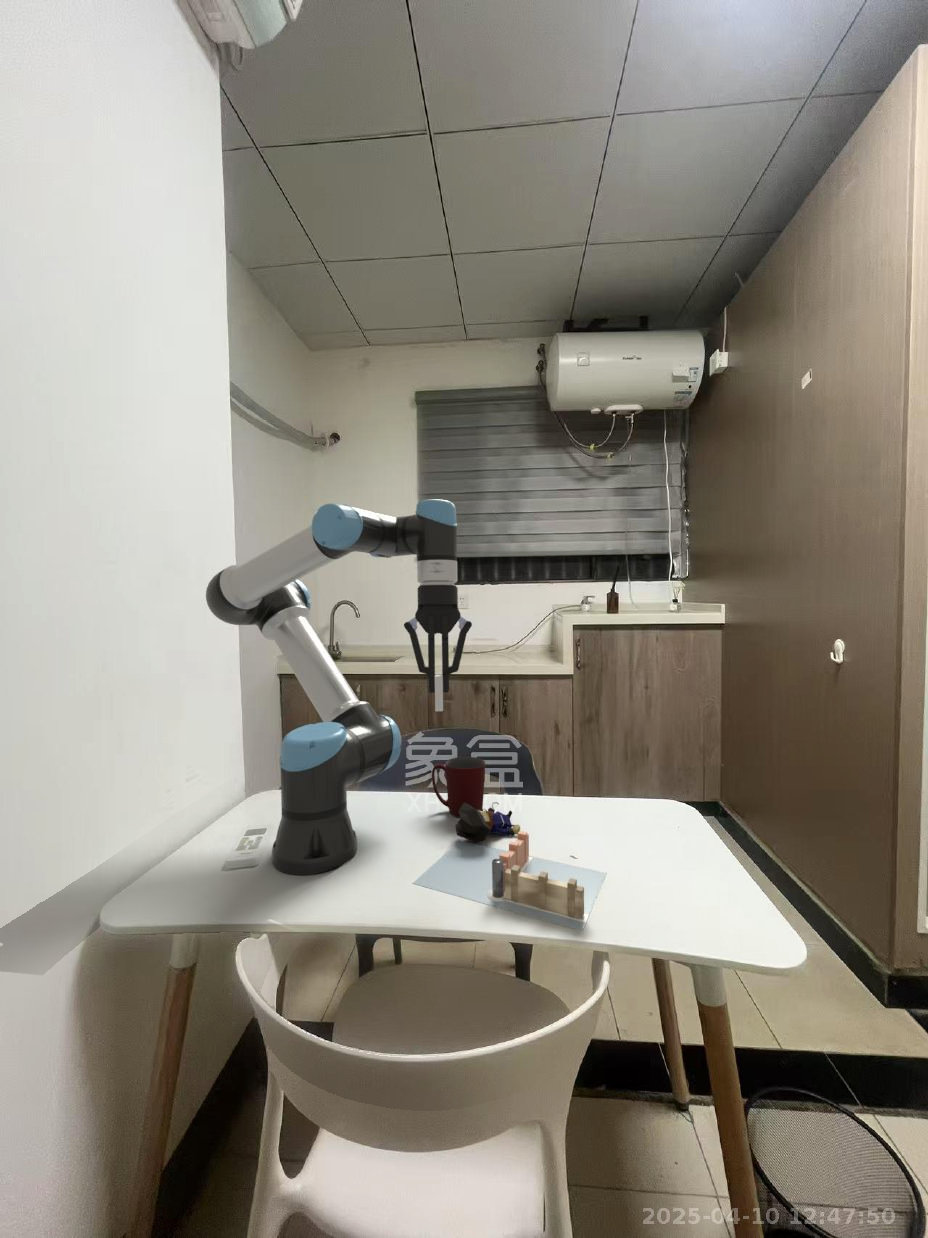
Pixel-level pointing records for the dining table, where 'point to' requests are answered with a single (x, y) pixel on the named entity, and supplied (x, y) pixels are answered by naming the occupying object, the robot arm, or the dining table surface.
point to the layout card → (472, 879)
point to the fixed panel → (544, 892)
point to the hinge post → (497, 878)
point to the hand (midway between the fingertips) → (439, 709)
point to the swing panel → (516, 852)
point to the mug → (462, 783)
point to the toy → (483, 823)
